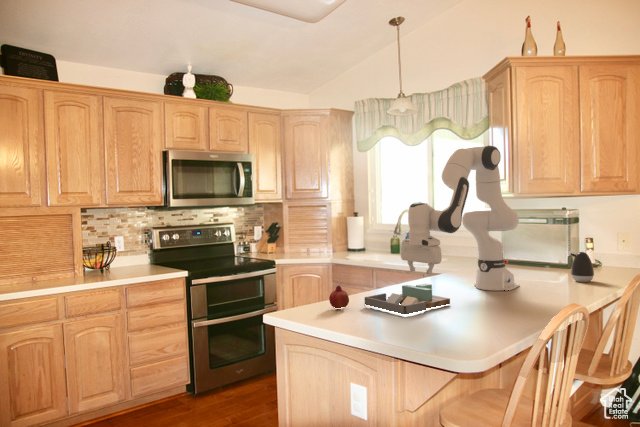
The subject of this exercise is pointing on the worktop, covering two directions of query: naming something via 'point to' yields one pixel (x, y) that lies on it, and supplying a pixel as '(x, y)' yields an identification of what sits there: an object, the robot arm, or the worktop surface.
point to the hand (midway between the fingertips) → (420, 272)
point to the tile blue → (395, 298)
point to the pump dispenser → (582, 267)
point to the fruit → (339, 298)
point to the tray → (393, 304)
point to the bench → (432, 301)
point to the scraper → (418, 291)
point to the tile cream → (409, 301)
